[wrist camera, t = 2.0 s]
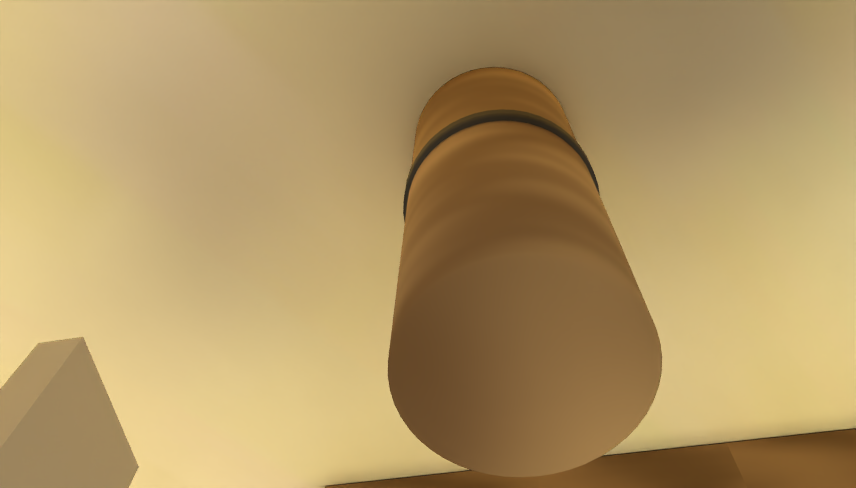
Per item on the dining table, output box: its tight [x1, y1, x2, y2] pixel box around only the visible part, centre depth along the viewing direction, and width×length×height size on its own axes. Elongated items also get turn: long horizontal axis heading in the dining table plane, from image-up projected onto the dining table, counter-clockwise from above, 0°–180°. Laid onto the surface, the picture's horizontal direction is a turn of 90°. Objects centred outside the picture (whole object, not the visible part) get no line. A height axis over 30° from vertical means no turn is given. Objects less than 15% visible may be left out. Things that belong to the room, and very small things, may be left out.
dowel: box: [388, 67, 662, 477], centre depth 16 cm, size 4×4×10 cm
